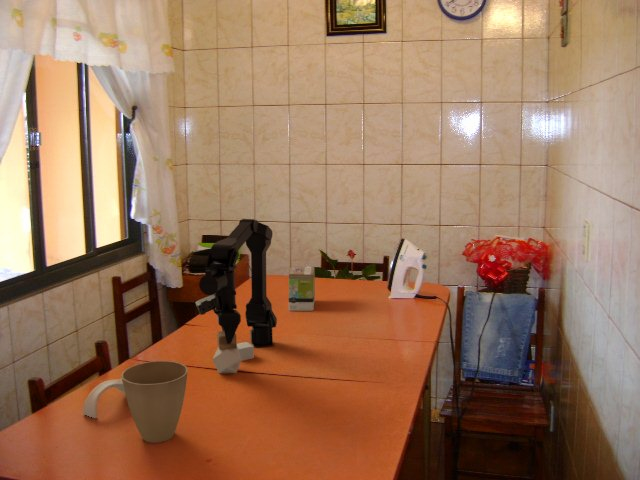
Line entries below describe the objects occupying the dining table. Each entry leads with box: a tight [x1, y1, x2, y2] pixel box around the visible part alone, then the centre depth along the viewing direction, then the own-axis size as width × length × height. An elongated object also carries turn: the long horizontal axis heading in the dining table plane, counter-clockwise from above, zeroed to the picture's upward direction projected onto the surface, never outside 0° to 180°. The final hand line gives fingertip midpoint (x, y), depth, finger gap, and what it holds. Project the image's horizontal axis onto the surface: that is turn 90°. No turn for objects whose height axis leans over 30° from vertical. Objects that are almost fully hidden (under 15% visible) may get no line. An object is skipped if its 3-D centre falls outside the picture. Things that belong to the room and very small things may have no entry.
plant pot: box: [121, 360, 188, 444], centre depth 162 cm, size 15×15×16 cm
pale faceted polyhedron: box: [212, 346, 243, 374], centre depth 204 cm, size 8×9×10 cm
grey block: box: [237, 341, 255, 361], centre depth 217 cm, size 5×5×4 cm
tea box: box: [288, 266, 316, 312], centre depth 274 cm, size 15×10×15 cm, turn 179°
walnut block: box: [216, 330, 238, 350], centre depth 203 cm, size 5×5×4 cm
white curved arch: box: [82, 378, 125, 419], centre depth 183 cm, size 24×12×7 cm, turn 148°
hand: (226, 338), depth 203 cm, fingers open, 9 cm apart
